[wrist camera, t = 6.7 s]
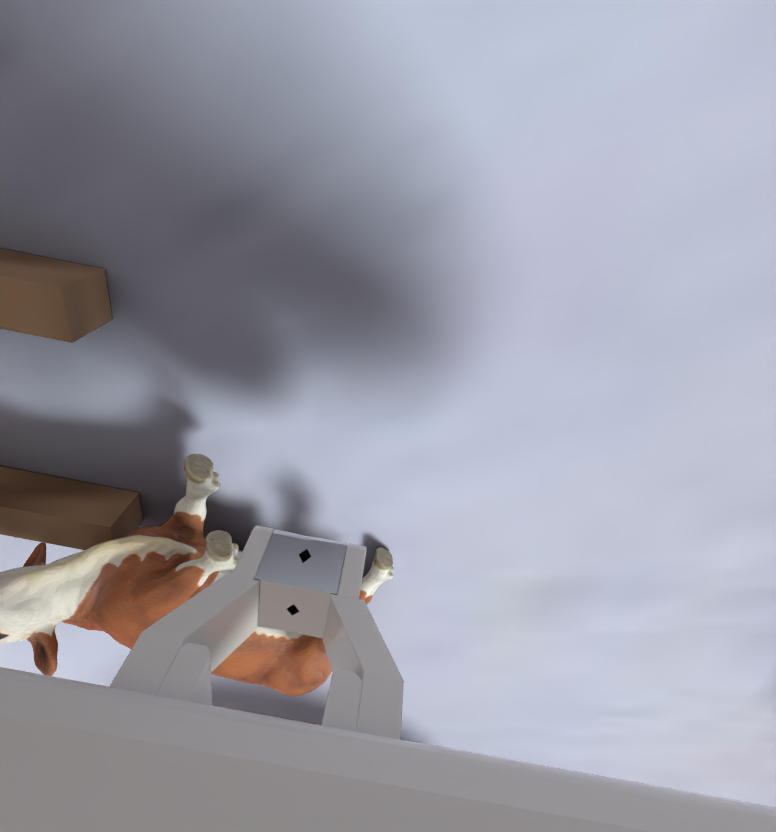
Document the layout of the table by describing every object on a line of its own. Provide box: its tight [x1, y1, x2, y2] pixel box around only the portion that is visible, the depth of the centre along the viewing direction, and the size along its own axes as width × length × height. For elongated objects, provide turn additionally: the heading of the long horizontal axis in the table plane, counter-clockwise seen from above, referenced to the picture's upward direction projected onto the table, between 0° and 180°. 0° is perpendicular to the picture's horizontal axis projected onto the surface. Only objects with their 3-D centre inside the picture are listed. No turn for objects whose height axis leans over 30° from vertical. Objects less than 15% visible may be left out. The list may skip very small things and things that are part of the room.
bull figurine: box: [0, 454, 394, 696], centre depth 16 cm, size 4×13×8 cm
